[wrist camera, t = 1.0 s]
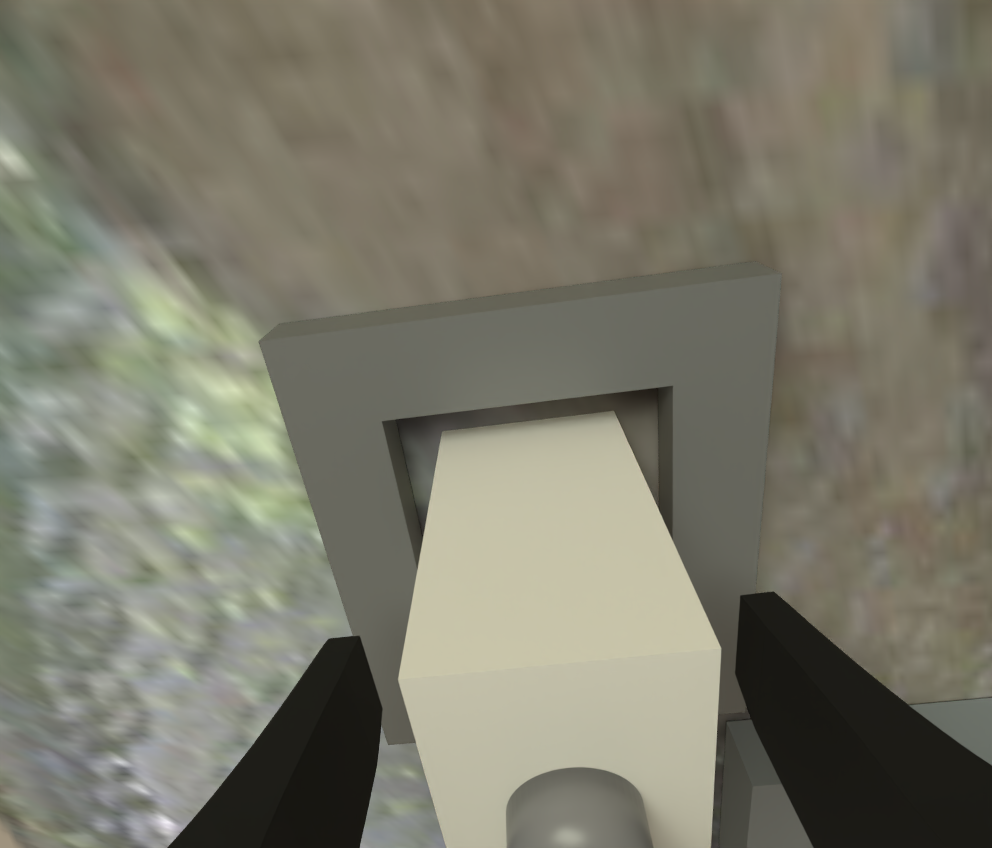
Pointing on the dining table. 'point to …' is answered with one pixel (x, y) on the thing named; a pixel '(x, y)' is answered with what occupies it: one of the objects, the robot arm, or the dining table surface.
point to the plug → (558, 648)
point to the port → (763, 801)
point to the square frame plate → (528, 379)
